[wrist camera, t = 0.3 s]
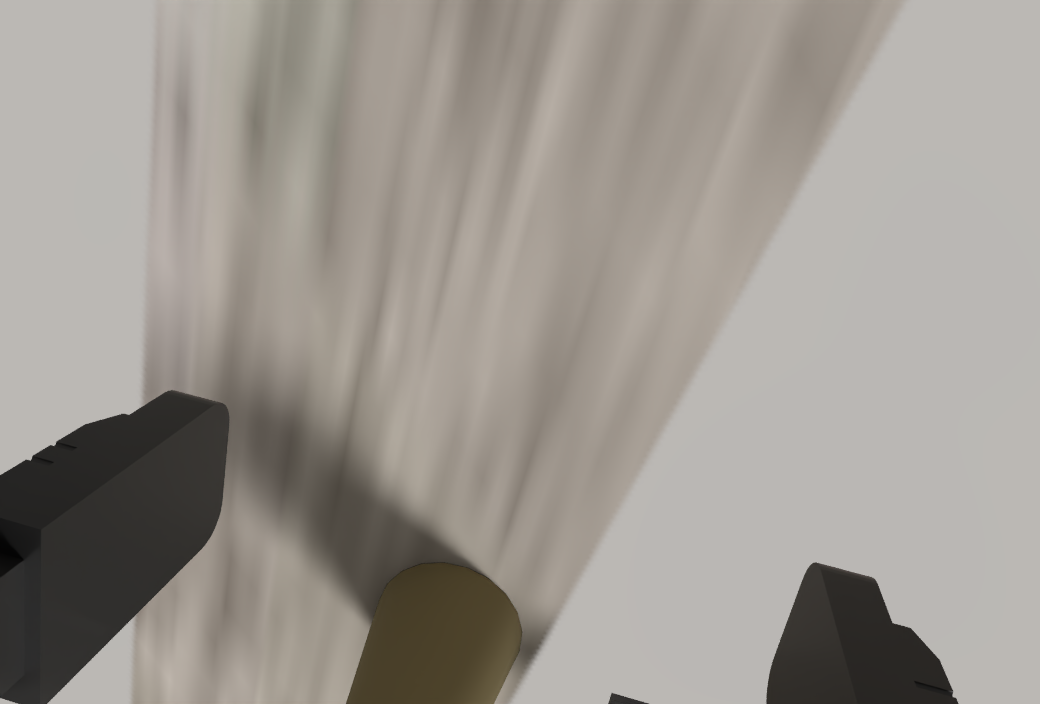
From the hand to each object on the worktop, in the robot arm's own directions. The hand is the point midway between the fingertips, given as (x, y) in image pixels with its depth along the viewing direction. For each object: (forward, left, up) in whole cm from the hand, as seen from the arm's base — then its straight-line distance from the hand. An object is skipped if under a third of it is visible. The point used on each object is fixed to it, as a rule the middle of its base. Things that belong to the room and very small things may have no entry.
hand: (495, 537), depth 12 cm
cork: (+17, -3, -18) cm, 25 cm away
